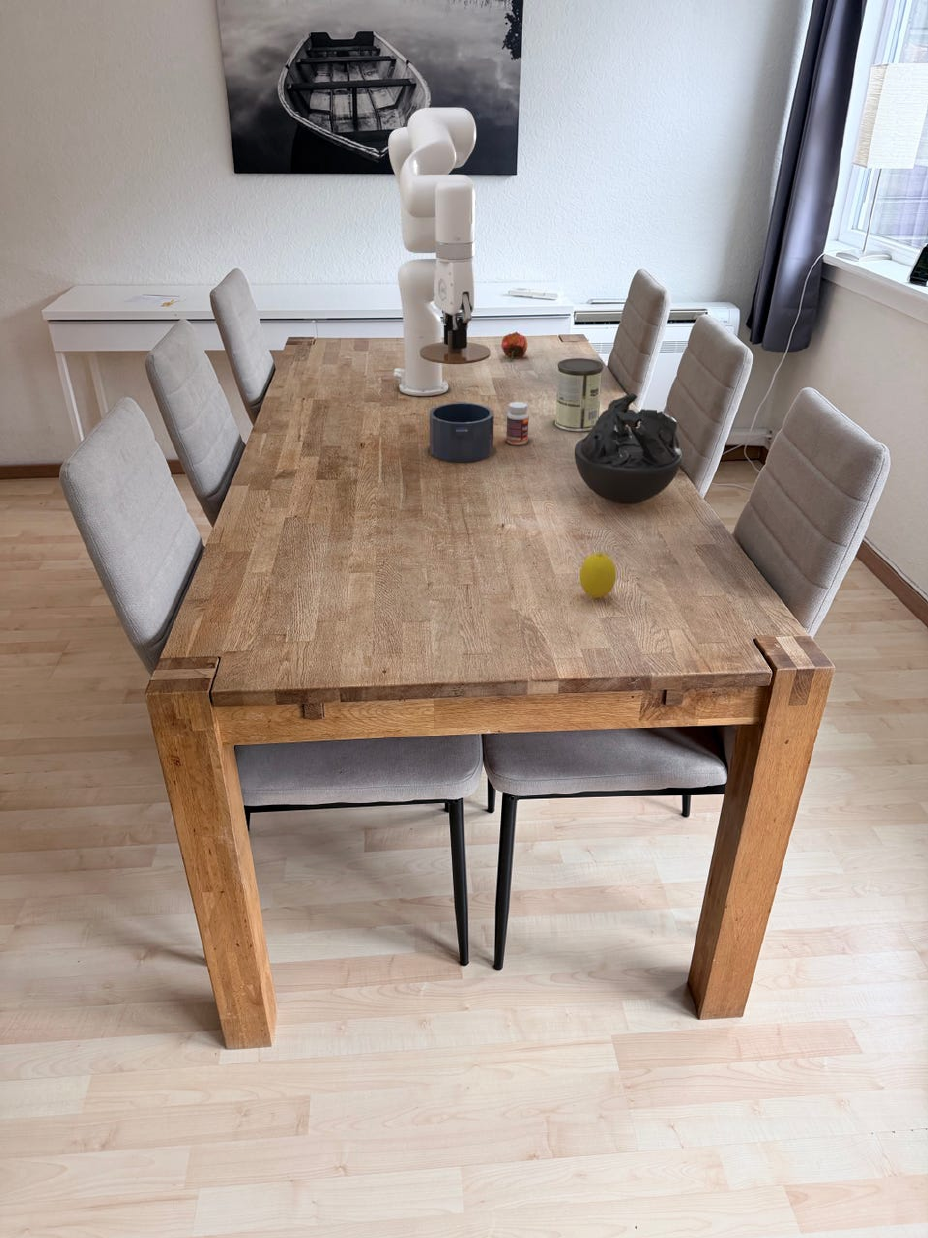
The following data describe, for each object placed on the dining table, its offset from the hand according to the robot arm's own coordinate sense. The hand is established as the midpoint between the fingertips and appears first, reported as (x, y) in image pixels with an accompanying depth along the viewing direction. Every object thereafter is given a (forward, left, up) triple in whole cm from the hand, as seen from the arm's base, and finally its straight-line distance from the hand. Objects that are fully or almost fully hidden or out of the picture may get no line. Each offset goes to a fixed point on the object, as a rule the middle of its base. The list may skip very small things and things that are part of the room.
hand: (455, 345), depth 185 cm
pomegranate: (-22, +72, -23) cm, 78 cm away
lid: (0, 0, -2) cm, 2 cm away
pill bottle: (+9, +12, -23) cm, 27 cm away
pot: (+1, +1, -23) cm, 23 cm away
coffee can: (+16, +29, -23) cm, 40 cm away
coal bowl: (+41, -6, -23) cm, 47 cm away
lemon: (+51, -44, -23) cm, 72 cm away
